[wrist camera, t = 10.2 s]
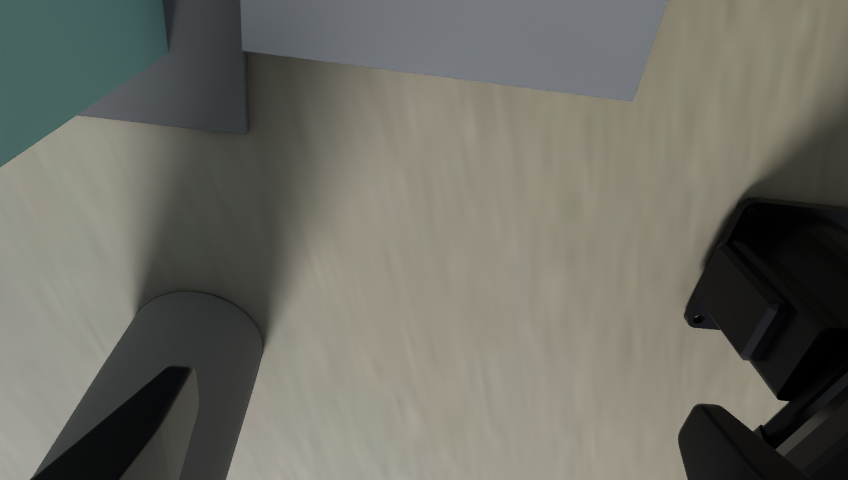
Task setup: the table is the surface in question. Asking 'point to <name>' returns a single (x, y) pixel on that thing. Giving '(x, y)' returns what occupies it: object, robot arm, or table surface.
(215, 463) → the bottle
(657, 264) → the table surface
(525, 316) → the table surface
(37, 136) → the plug
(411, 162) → the table surface
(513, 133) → the table surface
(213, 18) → the pad
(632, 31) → the grey square socket block
